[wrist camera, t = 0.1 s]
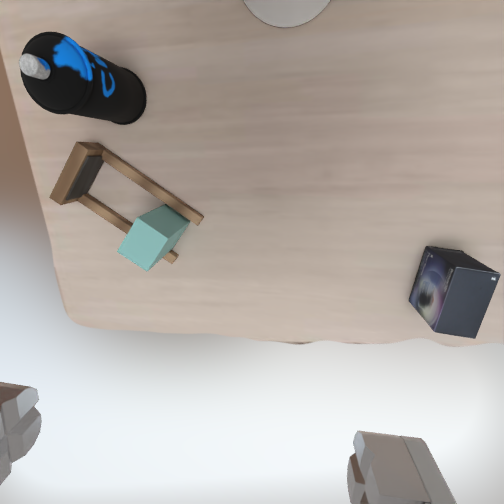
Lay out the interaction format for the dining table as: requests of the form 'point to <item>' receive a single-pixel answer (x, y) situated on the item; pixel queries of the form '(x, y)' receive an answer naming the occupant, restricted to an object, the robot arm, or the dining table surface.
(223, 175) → the dining table surface
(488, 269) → the small box
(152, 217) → the teal rectangular block
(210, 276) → the dining table surface
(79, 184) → the channel
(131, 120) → the aerosol can
